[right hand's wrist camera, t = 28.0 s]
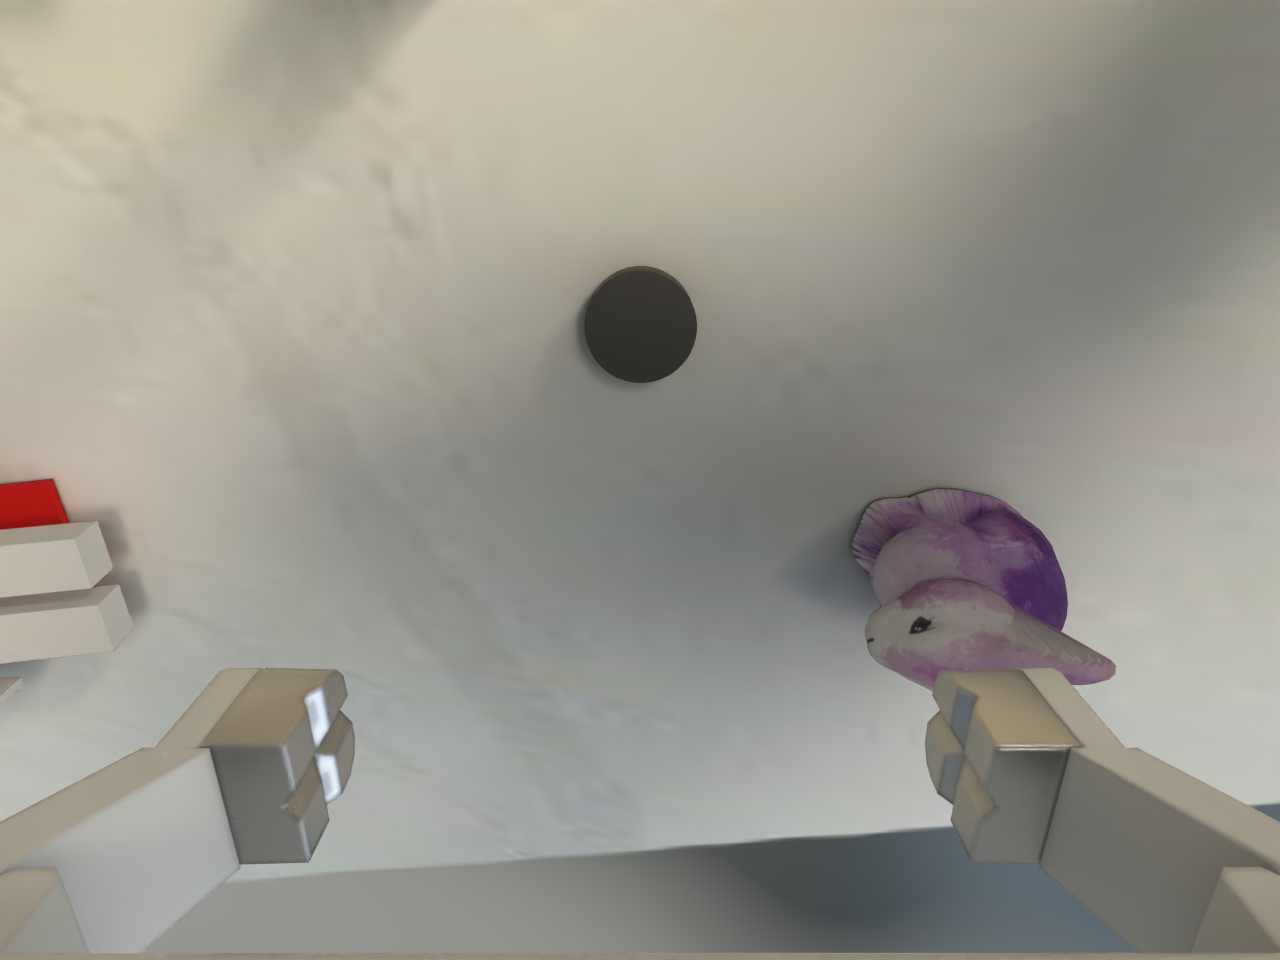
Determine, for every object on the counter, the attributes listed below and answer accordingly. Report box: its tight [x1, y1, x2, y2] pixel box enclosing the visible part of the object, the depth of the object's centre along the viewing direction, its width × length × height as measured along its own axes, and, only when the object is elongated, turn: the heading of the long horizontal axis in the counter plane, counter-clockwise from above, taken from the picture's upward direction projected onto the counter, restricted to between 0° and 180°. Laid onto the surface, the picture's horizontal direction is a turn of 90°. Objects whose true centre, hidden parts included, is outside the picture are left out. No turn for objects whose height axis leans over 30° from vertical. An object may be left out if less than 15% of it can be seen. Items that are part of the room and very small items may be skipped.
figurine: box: [852, 488, 1116, 691], centre depth 35 cm, size 9×10×15 cm
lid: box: [585, 266, 697, 383], centre depth 37 cm, size 5×5×2 cm
